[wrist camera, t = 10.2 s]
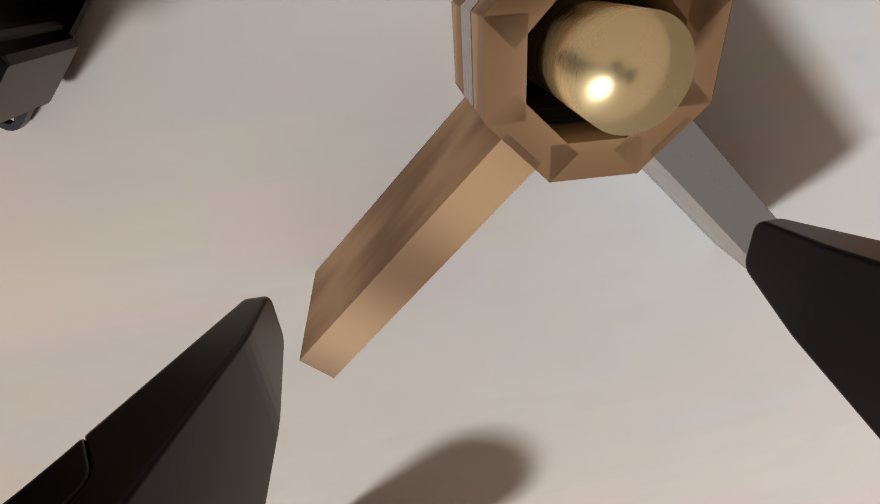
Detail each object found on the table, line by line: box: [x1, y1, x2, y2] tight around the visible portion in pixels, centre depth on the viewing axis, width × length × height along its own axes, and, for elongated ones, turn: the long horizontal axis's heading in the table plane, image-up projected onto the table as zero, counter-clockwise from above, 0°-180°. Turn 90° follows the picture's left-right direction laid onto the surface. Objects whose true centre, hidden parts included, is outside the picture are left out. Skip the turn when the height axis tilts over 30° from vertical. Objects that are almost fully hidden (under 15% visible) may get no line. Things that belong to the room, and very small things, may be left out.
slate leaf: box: [460, 0, 776, 268], centre depth 19 cm, size 18×7×6 cm, turn 49°
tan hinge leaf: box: [300, 0, 733, 378], centre depth 18 cm, size 18×7×6 cm, turn 139°
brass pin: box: [527, 0, 696, 136], centre depth 16 cm, size 3×3×8 cm
